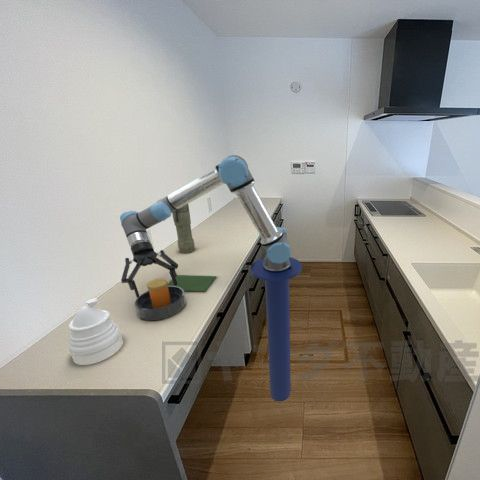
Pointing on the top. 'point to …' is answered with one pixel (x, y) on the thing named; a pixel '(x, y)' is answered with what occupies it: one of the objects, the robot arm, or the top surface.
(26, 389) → the top surface
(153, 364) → the top surface
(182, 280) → the mat
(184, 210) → the green elongated piece
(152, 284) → the tea tin
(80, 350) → the honey pot
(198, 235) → the top surface
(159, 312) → the bowl
